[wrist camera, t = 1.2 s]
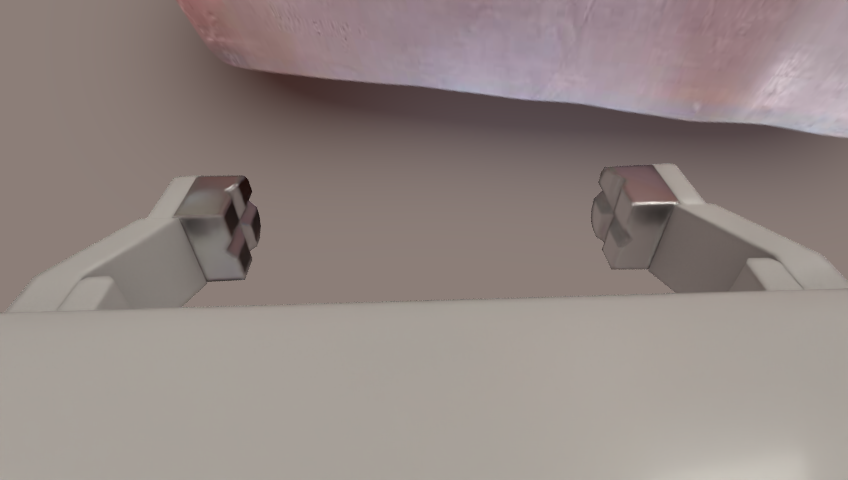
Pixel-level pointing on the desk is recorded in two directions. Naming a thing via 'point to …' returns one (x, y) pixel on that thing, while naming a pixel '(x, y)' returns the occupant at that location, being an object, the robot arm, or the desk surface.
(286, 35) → the desk surface
